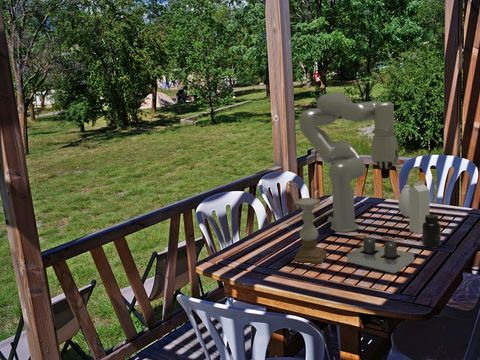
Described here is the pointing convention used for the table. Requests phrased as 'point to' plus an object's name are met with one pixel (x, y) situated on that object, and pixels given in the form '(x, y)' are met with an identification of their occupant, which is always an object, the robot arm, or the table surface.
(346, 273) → the table surface
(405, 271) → the table surface
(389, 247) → the dark grey cylinder
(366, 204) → the table surface
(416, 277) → the table surface
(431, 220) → the supplement bottle
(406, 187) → the sauce bottle
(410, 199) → the milk
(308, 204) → the candle holder
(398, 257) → the jig
